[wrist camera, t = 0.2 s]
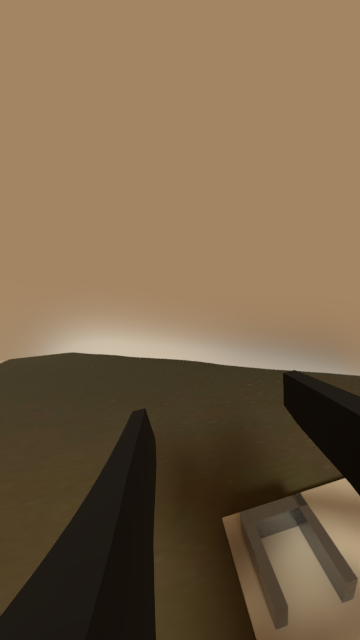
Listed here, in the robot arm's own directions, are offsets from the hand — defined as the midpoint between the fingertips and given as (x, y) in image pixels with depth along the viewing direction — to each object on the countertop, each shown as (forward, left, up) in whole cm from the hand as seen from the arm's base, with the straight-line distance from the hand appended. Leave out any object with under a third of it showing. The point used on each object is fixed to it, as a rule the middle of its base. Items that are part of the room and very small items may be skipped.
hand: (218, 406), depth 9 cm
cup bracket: (+2, -5, -21) cm, 21 cm away
